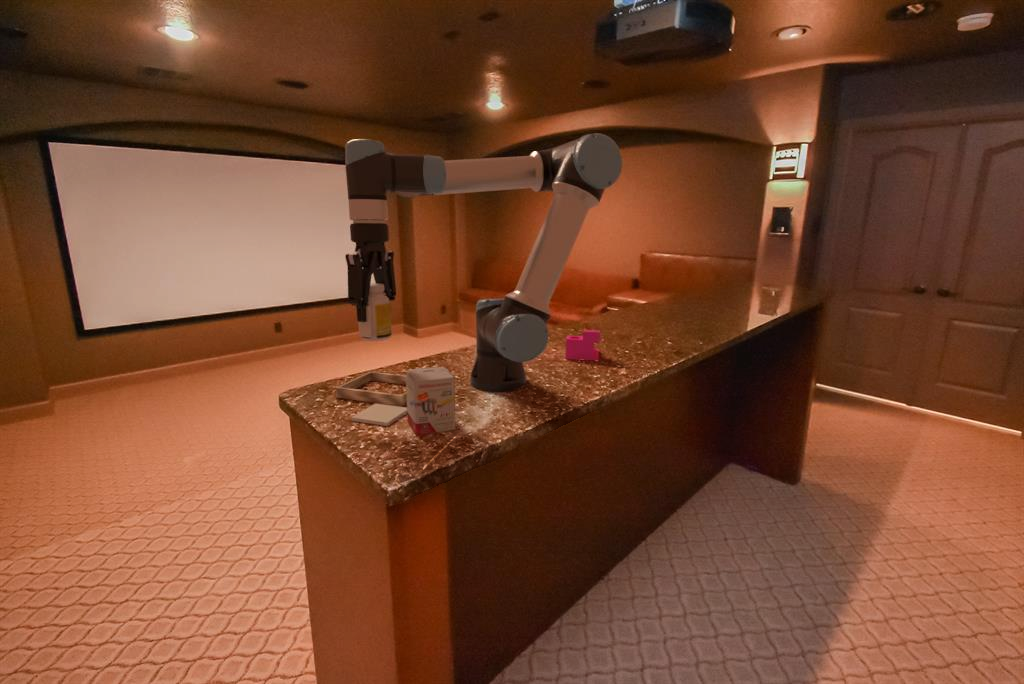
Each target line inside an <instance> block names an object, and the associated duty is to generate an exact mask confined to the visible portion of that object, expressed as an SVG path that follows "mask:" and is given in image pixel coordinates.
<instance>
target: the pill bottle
mask: <svg viewBox="0 0 1024 684" xmlns="http://www.w3.org/2000/svg"><path fill="white" fill-rule="evenodd" d="M383 291H384V284H379V283H375V282H373V283H372V282H371V283H370V290H369V298H368V305H367V306H371V321H372V337H371V338H369V337H360V340H363V341H366V342H381V341H386V340H389V339H390V338H391V337H392V317H391V318H390V308H391V307H390V305H391V300H390V301H389V298H388V297H387V296H385V295H384V294H383ZM362 300H363V299H362Z"/></svg>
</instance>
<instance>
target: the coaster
mask: <svg viewBox="0 0 1024 684" xmlns="http://www.w3.org/2000/svg"><path fill="white" fill-rule="evenodd" d="M406 414H407V406H406V407H405V406H396V405H388V404H381V403H374V404H372V405H370V406H368V407H366V408H365V409H363V410H362V411H360V412H358V413H357V414H354V415H353V416H351V417H350V418H351V419H350V420H351V421H352V422H356V423H357V422H358V423H363V424H364V423H365V424H370V425H377V426H384V427H388V426H391V425H392V424H394V423H395V422H396V421H398V420H399V419H400V418H402V417H404V416H405V415H406Z"/></svg>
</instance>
